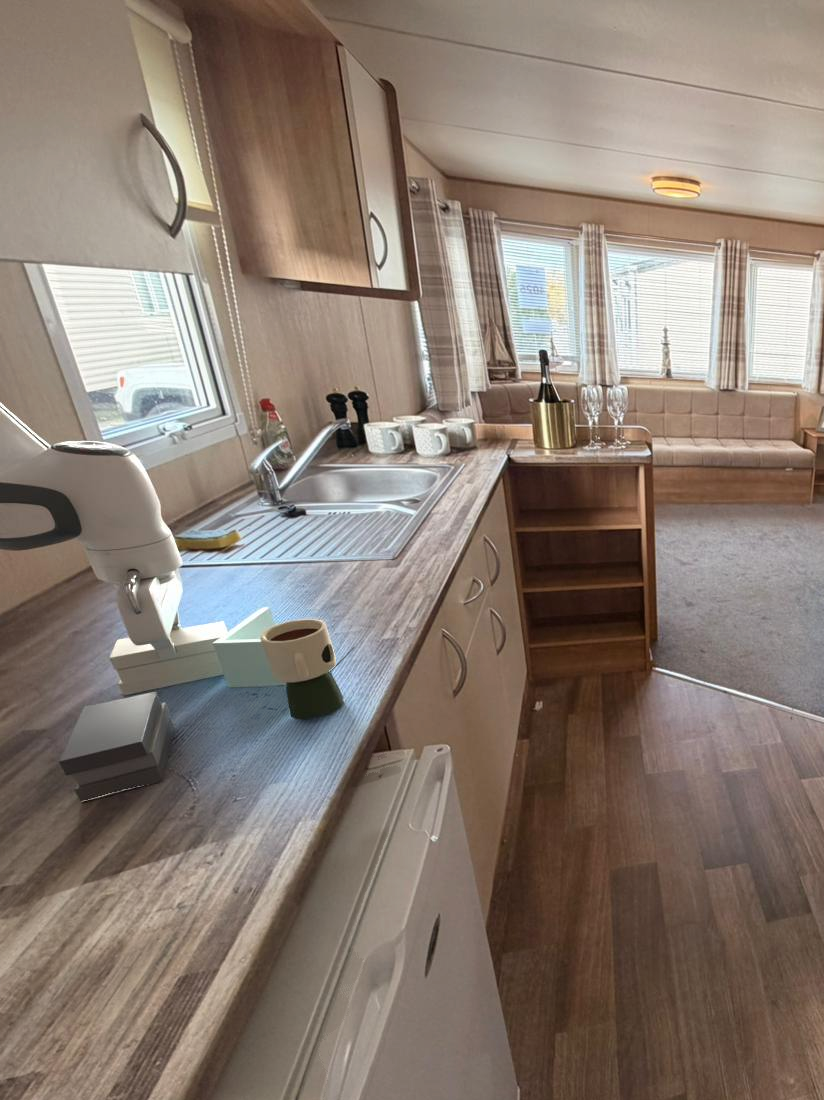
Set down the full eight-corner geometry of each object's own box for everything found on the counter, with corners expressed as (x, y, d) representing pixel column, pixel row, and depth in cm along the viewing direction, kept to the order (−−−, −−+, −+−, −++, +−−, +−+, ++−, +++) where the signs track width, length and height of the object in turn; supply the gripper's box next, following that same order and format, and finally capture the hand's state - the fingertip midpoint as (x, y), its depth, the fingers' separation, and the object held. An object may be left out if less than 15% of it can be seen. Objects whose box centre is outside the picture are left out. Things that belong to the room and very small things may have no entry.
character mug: (352, 722, 88) (328, 639, 83) (288, 739, 84) (258, 653, 79) (345, 686, 96) (323, 609, 91) (286, 700, 92) (260, 620, 87)
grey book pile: (163, 781, 76) (144, 740, 74) (81, 804, 72) (58, 761, 70) (175, 727, 85) (159, 689, 83) (103, 744, 81) (83, 705, 79)
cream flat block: (227, 632, 101) (223, 620, 100) (225, 648, 96) (221, 637, 95) (122, 651, 94) (117, 639, 93) (114, 670, 90) (108, 657, 89)
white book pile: (123, 695, 91) (112, 671, 89) (130, 675, 96) (120, 652, 94) (235, 672, 98) (226, 649, 96) (237, 654, 103) (229, 632, 101)
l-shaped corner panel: (318, 684, 96) (305, 640, 93) (229, 687, 94) (212, 643, 91) (355, 645, 107) (344, 605, 104) (275, 648, 105) (262, 607, 102)
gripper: (157, 579, 84) (194, 670, 89) (175, 535, 98) (205, 615, 104) (89, 589, 80) (132, 682, 86) (118, 541, 95) (152, 624, 100)
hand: (172, 645), depth 95 cm, fingers closed on cream flat block, 6 cm apart
